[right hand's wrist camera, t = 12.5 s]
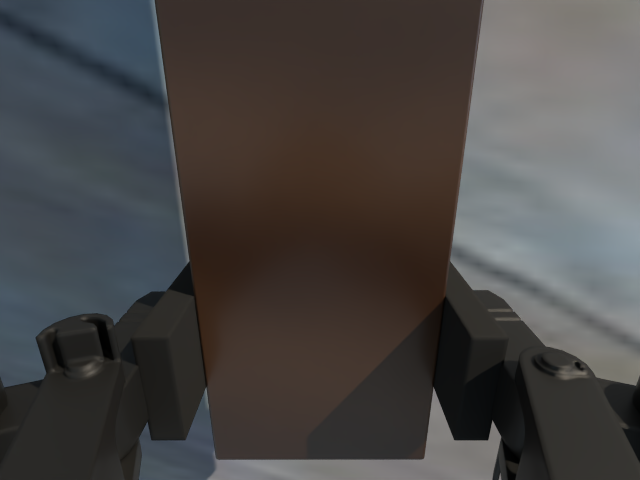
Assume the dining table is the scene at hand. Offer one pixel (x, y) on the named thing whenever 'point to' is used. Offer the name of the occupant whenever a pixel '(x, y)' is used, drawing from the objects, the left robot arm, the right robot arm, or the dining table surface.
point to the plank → (319, 212)
